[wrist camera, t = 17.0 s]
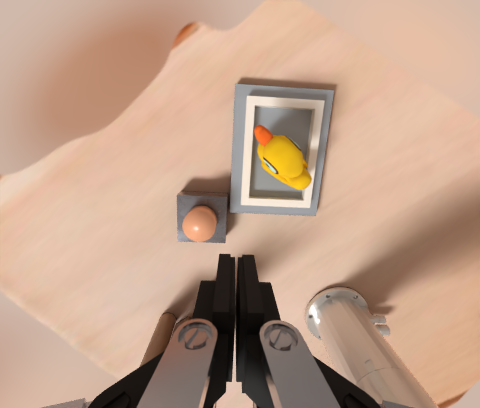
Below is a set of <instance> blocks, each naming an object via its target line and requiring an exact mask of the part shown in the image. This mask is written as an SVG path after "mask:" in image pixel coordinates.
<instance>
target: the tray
mask: <svg viewBox="0 0 480 408" xmlns="http://www.w3.org/2000/svg"><path fill="white" fill-rule="evenodd" d="M333 95H334V90H322V89H307V88H292V87H277V86H262V85H247V84H235V100H234V123H233V146H232V169H231V192H230V212H231V213H254V214H278V215H302V216H316V212H317V205H318V199H319V192H320V185H321V178H322V171H323V164H324V157H325V150H326V144H327V137H328V130H329V123H330V116H331V109H332V102H333ZM258 125H262V126H264V127H265V128H267V129H268V130H269V131H270V132H271V133H272V135H277V136H279V135H283V136H287V137H289V138H291V139H292V140H294V141H295V142H296V143H297V145H298V146H299V147H300V149H301V151H302V154H303V159H304V160H305V161H306V163H307V164H308V167H307V168H306V167H305V168H306V170H307V171H308V172H309V173H310V175H311V177H312V181H311V184H310V185H309V186H308V187H307V188H305V189H304V190H297V189H295V188H293V187H290V186H289V185H287V184H284V183H283V182H281V181H279V180H278V179H276V178H275V177H274V176H272V175H271V174H269V173H268V172H267V171H266V170H264V169H263V167H262V166H261V162H262V161H261V159H260V158H259V156H258V152H257V148H258V145H259V142H258V140H257V139H256V137H255V133H254V129H255V127H256V126H258Z"/></svg>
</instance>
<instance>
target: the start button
mask: <svg viewBox="0 0 480 408" xmlns="http://www.w3.org/2000/svg"><path fill="white" fill-rule="evenodd" d="M216 224H217V217H216V214H215V212H214V211H213V210H212V209H211V208H209V207H207V206H202V205H201V206H196V207H193V208H192V209H191V210H190V211H189V212H188V214H187V215H186V217H185V218H184V220H183V225H182V227H183V231H184V233H185V235H186V236H187V237H188V238H189V239H191V240H193V241H196V242H203V241H206V240H208V239H210V238H211V237H212V236H213V234H214V233H215V229H216Z"/></svg>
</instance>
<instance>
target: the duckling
mask: <svg viewBox="0 0 480 408" xmlns="http://www.w3.org/2000/svg"><path fill="white" fill-rule="evenodd" d="M254 133H255V137H256V139H257V140H258V142H259V145H258V148H257V152H258V156H259V158H260V159H261V161H262V162H261V166H262V167H263V169H264V170H266V171H267V172H268V173H269V174H271V175H272V176H274V177H275V178H276V179H278V180H279V181H281V182H283V183H284V184H287V185H289V186H290V187H293V188H295V189H297V190H304V189H305V188H307V187H308V186H309V185H310V184H311V181H312V177H311V175H310V173H309V172H308V171H307V170H306V168H307V167H308V164H307V163H306V161H305V160H304V159H303V154H302V151H301V149H300V147H299V146H298V145H297V143H296V142H295V141H294V140H292V139H291V138H289V137H287V136H283V135H279V136H277V135H272V133H271V132H270V131H269V130H268V129H267V128H265V127H264V126H262V125H258V126H256V127H255V129H254ZM305 167H306V168H305Z"/></svg>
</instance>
